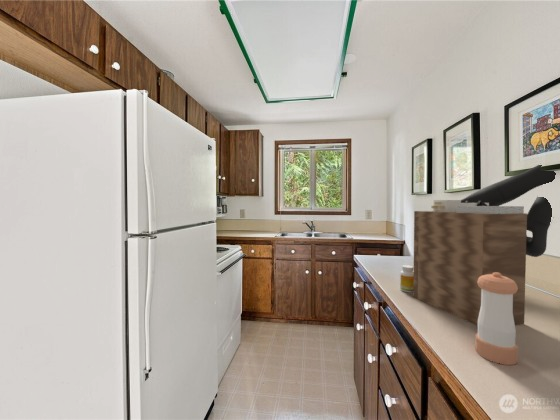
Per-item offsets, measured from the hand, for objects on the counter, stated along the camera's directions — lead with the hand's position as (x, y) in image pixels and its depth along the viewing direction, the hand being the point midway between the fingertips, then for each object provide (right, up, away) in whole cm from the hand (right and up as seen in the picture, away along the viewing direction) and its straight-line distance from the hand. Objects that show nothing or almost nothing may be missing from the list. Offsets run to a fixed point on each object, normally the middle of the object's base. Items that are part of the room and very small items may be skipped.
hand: (472, 203), depth 89 cm
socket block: (-6, -3, -14) cm, 16 cm away
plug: (-4, -3, -1) cm, 5 cm away
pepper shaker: (-19, -36, -32) cm, 52 cm away
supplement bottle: (-18, -35, +10) cm, 41 cm away
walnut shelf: (-9, -35, -7) cm, 37 cm away
